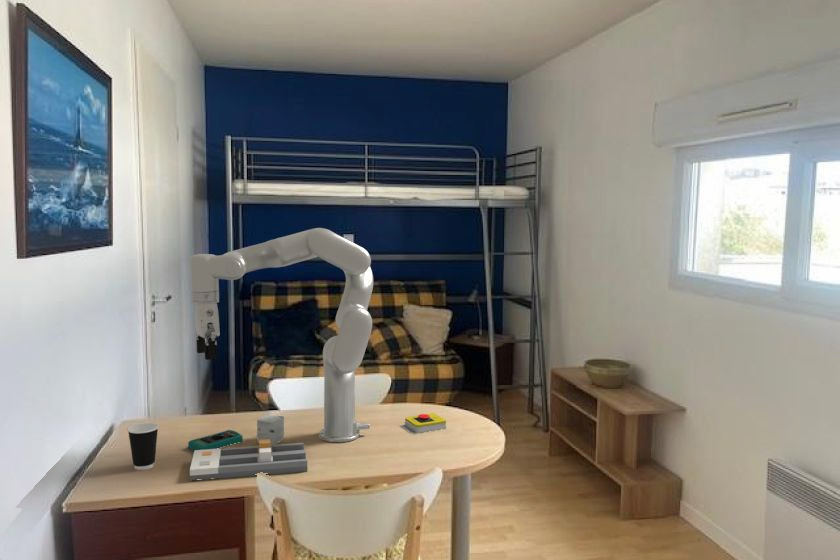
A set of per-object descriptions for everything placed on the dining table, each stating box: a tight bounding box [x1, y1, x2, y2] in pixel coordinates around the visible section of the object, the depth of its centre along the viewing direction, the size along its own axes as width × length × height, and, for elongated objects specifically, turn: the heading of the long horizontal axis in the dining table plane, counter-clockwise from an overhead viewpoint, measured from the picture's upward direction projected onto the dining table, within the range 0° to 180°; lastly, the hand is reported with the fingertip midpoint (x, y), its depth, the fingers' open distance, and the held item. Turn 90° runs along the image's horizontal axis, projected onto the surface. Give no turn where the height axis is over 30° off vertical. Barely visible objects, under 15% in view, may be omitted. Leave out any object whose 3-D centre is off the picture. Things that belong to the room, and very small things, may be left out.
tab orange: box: [257, 439, 272, 453], centre depth 179 cm, size 4×4×4 cm
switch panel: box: [189, 442, 308, 481], centre depth 175 cm, size 30×14×3 cm, turn 105°
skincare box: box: [256, 414, 285, 445], centre depth 195 cm, size 6×6×7 cm
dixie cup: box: [126, 422, 160, 471], centre depth 174 cm, size 8×8×11 cm
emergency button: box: [400, 412, 447, 435], centre depth 210 cm, size 9×4×15 cm
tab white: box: [258, 448, 273, 463], centre depth 173 cm, size 4×4×4 cm
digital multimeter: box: [187, 429, 244, 452], centre depth 191 cm, size 7×15×3 cm, turn 140°
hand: (206, 355), depth 185 cm, fingers open, 9 cm apart
